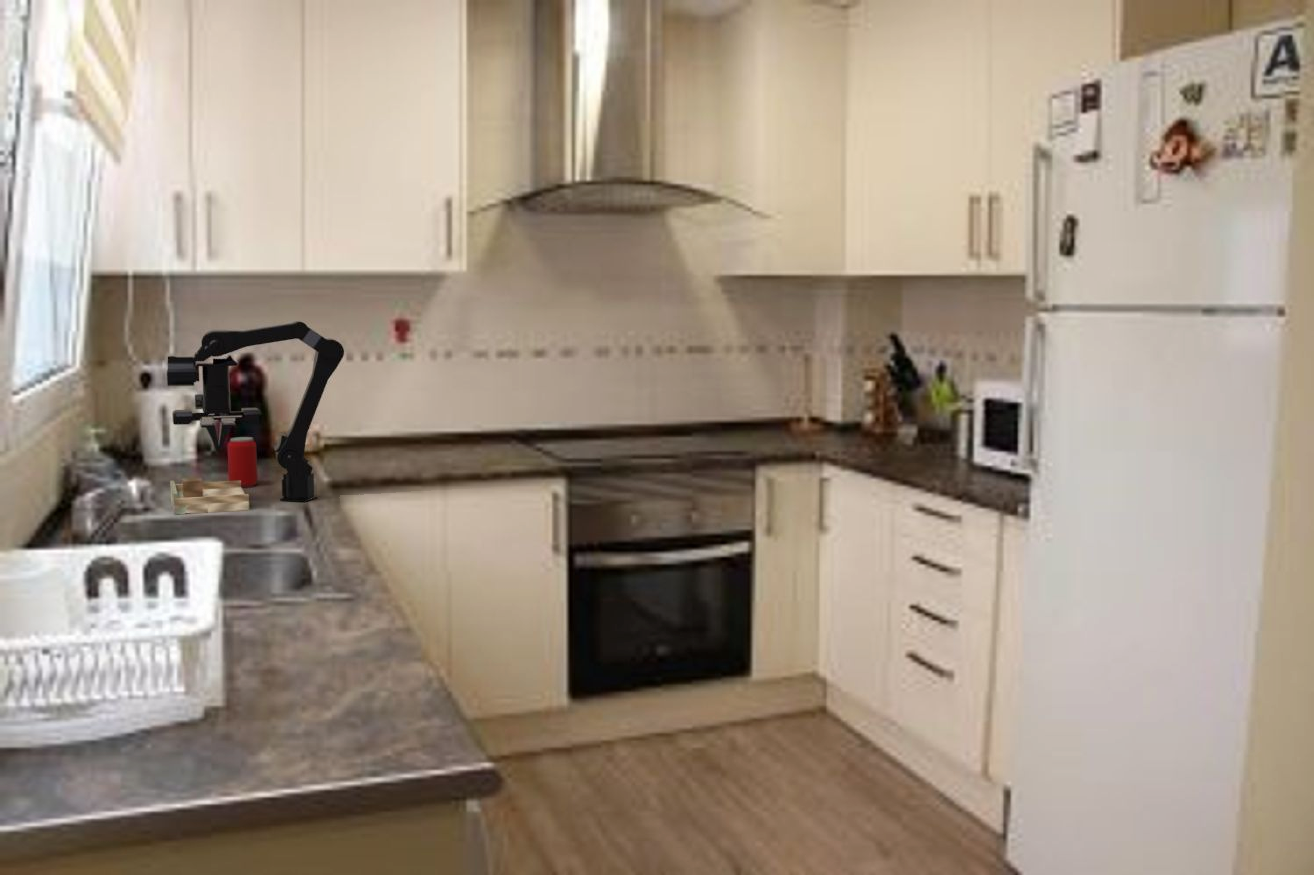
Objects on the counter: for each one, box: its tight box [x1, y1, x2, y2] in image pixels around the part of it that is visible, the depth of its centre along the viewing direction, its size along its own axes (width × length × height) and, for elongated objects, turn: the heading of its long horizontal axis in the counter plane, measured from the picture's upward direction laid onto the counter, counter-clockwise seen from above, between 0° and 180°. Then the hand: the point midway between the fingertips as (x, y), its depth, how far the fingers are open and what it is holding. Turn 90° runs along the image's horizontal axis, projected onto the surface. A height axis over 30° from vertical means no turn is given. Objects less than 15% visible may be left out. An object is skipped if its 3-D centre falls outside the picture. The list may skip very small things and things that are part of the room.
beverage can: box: [227, 436, 258, 488], centre depth 281 cm, size 7×7×12 cm
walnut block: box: [181, 477, 203, 498], centre depth 256 cm, size 4×4×4 cm
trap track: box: [169, 480, 250, 515], centre depth 258 cm, size 16×19×4 cm
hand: (218, 453), depth 258 cm, fingers closed
